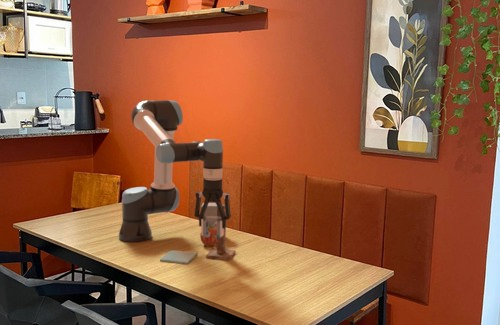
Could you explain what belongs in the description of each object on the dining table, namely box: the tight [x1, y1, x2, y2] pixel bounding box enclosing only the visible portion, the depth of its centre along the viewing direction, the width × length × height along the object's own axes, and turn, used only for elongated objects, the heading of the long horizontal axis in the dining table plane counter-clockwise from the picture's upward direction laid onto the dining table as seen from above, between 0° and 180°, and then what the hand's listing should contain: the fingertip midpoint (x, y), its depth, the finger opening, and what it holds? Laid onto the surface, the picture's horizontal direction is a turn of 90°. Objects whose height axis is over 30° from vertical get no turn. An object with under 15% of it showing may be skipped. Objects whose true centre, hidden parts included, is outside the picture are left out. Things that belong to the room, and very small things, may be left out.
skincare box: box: [200, 202, 217, 229], centre depth 243 cm, size 8×7×16 cm
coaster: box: [159, 249, 198, 265], centre depth 212 cm, size 12×12×1 cm
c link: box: [203, 216, 222, 238], centre depth 201 cm, size 7×3×8 cm, turn 77°
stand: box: [205, 203, 236, 261], centre depth 211 cm, size 10×18×22 cm, turn 167°
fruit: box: [199, 224, 217, 247], centre depth 229 cm, size 9×10×10 cm
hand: (212, 235), depth 202 cm, fingers closed on c link, 7 cm apart
